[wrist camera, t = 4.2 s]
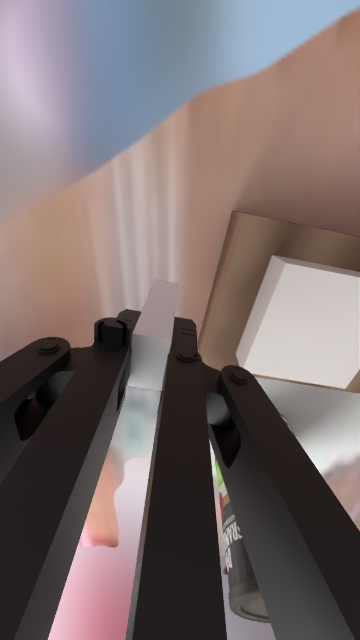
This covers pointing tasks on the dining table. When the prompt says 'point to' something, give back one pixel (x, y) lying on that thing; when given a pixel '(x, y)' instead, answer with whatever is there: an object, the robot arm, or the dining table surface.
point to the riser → (248, 273)
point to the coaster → (304, 324)
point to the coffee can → (240, 562)
